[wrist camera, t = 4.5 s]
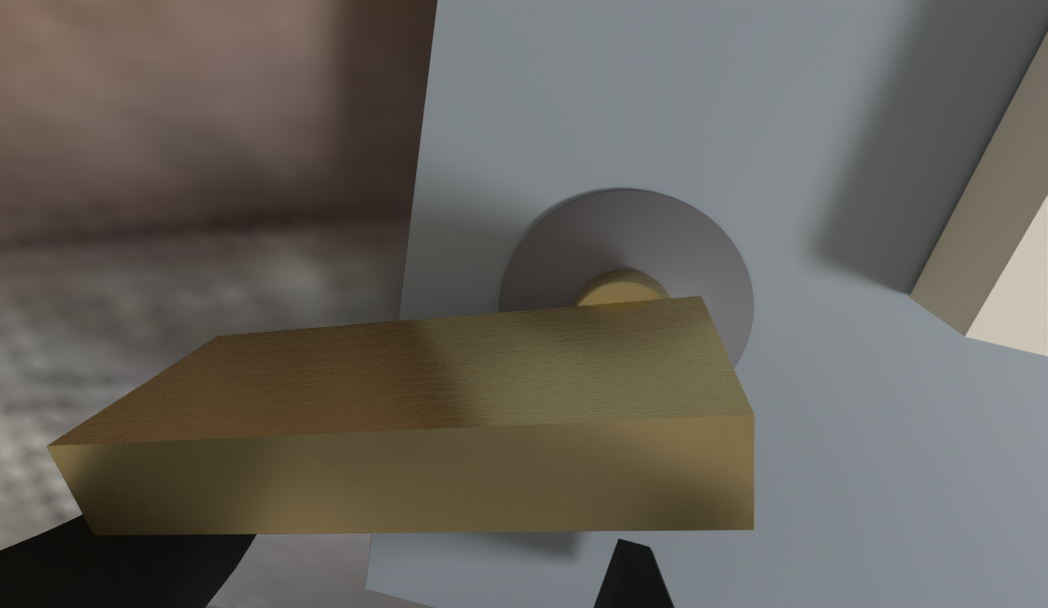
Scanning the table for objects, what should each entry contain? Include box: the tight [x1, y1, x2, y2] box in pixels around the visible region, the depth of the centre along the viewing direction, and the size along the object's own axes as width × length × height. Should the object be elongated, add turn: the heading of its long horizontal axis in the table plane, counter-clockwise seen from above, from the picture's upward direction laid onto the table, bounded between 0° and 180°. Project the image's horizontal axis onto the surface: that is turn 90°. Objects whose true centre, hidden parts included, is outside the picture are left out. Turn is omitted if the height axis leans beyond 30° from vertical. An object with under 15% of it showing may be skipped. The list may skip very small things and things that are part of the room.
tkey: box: [47, 270, 754, 535], centre depth 8 cm, size 8×2×4 cm, turn 98°
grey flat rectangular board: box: [365, 0, 1048, 608], centre depth 11 cm, size 15×19×3 cm
